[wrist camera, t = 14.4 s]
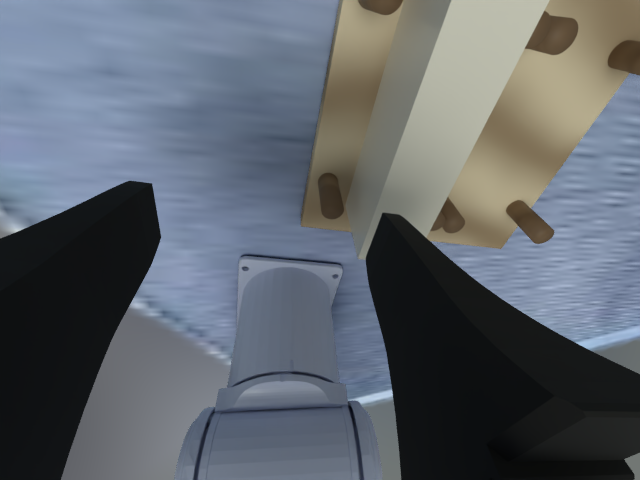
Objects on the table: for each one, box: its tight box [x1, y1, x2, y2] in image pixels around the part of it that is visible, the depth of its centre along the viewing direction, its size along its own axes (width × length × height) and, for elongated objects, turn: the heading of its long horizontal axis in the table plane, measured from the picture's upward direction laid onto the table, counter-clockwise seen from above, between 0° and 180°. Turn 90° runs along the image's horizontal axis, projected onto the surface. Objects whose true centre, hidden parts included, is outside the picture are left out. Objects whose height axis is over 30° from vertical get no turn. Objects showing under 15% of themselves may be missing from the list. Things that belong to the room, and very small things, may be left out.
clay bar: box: [345, 0, 550, 260], centre depth 14 cm, size 12×3×5 cm, turn 169°
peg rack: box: [301, 0, 640, 249], centre depth 16 cm, size 16×15×4 cm
